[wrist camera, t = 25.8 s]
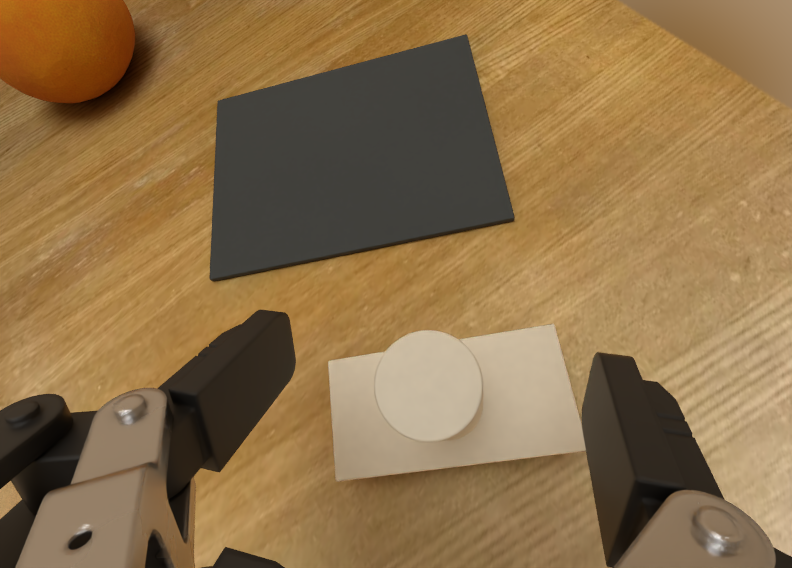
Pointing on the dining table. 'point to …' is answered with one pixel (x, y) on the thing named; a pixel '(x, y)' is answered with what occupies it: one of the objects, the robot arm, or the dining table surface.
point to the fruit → (65, 47)
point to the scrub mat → (354, 162)
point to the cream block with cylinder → (452, 403)
